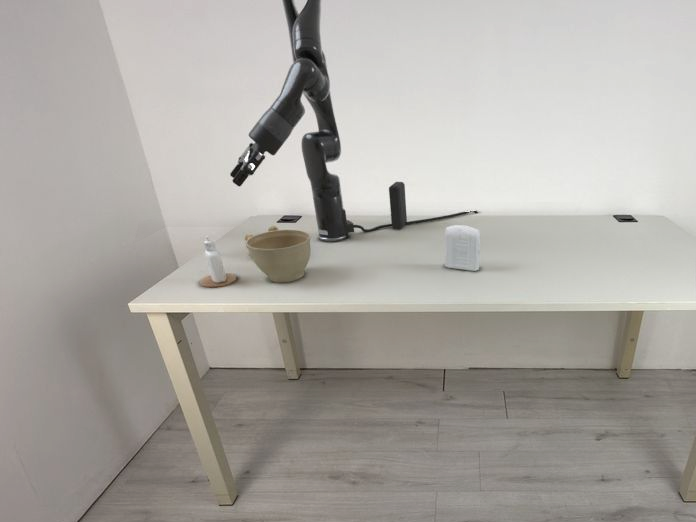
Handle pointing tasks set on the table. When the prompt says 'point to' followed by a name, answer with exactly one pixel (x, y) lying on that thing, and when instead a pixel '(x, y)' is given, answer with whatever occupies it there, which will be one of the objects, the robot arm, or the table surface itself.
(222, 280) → the eye dropper bottle
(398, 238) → the table surface
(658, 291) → the table surface
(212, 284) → the cork coaster
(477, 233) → the white arched tombstone
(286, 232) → the planter bowl
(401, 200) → the card reader
